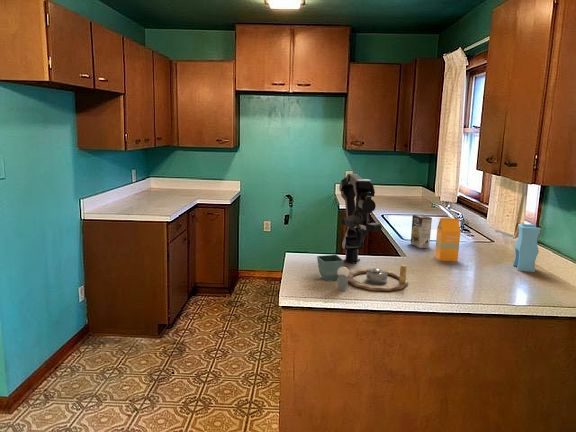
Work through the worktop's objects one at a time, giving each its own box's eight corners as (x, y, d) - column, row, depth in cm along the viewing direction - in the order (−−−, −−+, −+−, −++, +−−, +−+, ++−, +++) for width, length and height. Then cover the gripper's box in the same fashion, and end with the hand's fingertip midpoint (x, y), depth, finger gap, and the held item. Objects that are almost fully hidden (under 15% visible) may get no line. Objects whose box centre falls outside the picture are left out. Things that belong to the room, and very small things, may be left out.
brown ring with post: (400, 271, 205) (402, 253, 203) (412, 291, 181) (414, 271, 179) (344, 269, 206) (345, 251, 204) (348, 289, 182) (349, 269, 180)
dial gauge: (338, 287, 185) (339, 264, 183) (349, 289, 183) (350, 266, 182) (336, 289, 183) (336, 266, 181) (346, 291, 181) (347, 268, 179)
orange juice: (457, 261, 224) (461, 220, 220) (439, 260, 224) (442, 219, 220) (452, 256, 231) (456, 216, 227) (434, 256, 232) (437, 216, 228)
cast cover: (369, 277, 199) (370, 265, 198) (389, 280, 195) (389, 268, 194) (363, 282, 191) (364, 270, 190) (383, 286, 188) (384, 273, 187)
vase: (535, 271, 210) (541, 228, 206) (516, 270, 211) (522, 227, 207) (530, 266, 217) (536, 224, 213) (512, 265, 219) (517, 223, 215)
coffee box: (409, 243, 255) (412, 214, 251) (420, 243, 256) (422, 214, 253) (419, 248, 246) (421, 217, 243) (429, 247, 248) (432, 217, 245)
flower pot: (323, 283, 190) (323, 261, 188) (316, 276, 198) (316, 255, 196) (343, 281, 192) (344, 260, 190) (335, 274, 200) (336, 254, 199)
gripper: (333, 207, 204) (331, 241, 207) (365, 213, 190) (363, 251, 193) (351, 204, 211) (349, 238, 214) (383, 211, 197) (381, 247, 200)
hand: (360, 243), depth 205 cm, fingers closed
